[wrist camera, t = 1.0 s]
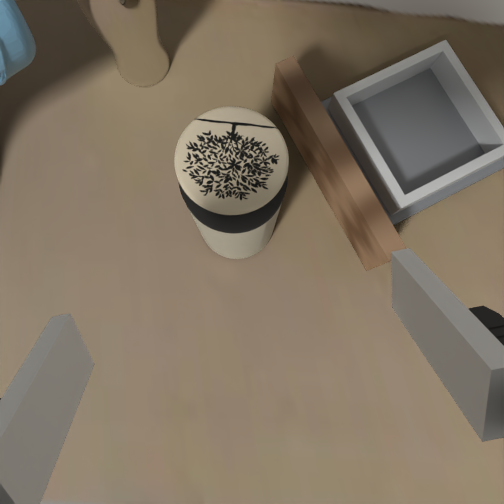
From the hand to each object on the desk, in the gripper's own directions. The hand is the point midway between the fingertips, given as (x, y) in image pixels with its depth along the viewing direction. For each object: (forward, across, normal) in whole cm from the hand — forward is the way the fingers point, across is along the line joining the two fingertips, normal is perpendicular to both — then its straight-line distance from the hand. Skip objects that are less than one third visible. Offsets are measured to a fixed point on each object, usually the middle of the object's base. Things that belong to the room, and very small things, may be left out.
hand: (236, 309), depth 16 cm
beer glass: (+39, -8, +9) cm, 41 cm away
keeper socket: (+32, +21, -3) cm, 38 cm away
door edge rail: (+29, +10, -5) cm, 31 cm away
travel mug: (+27, 0, -8) cm, 28 cm away
